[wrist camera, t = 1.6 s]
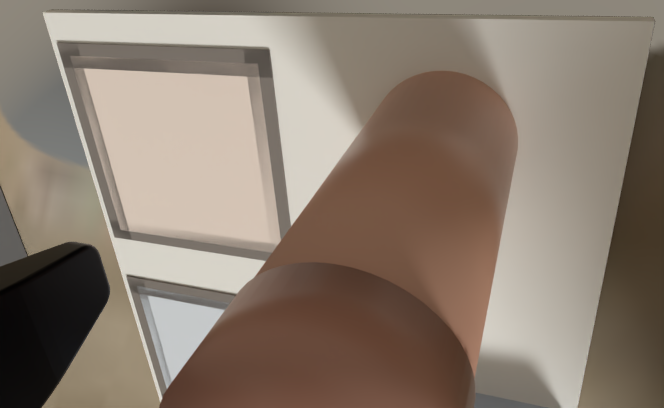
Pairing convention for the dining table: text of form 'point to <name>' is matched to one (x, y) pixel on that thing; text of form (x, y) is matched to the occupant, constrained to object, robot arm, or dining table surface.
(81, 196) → the dining table surface
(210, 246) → the sorting tray
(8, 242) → the button housing
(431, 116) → the cylinder
